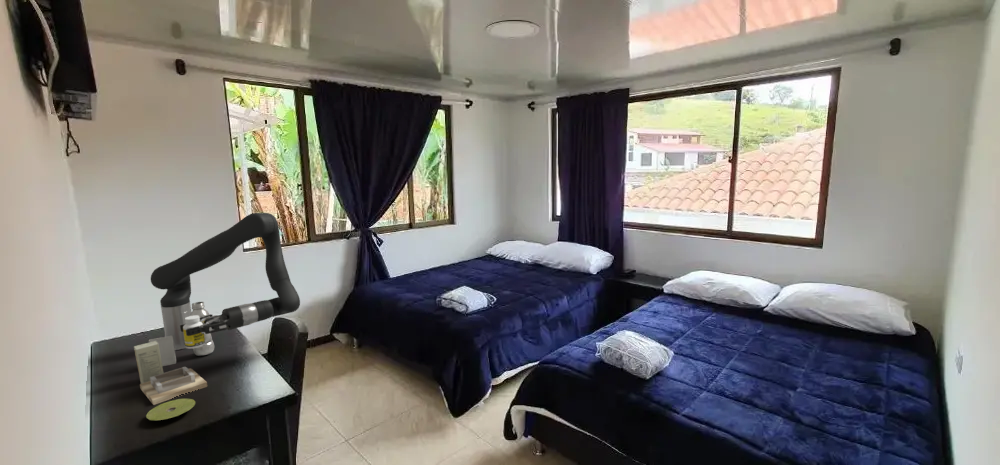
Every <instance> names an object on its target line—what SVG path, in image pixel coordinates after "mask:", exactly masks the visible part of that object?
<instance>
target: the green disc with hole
mask: <svg viewBox="0 0 1000 465" xmlns="http://www.w3.org/2000/svg"><path fill="white" fill-rule="evenodd" d="M195 405H196V401H195V400H194V399H193V398H178V399H177V398H176V399H173V400H168V401H167V402H166V401H165V402H162V403H159V404H157V405H156V406H154V407H153V408H152V409H150V410H149V411H148V412H147V414H146V415H145V417H146V419H148V420H149V421H161V420H162V421H163V420H168V419H171V418H175V417H179V416H180V415H182V414H185V413H186V412H188V411H190V410H191V409H193V407H195Z"/></svg>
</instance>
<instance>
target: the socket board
mask: <svg viewBox="0 0 1000 465" xmlns="http://www.w3.org/2000/svg"><path fill="white" fill-rule="evenodd" d="M207 387H208V382H207V381H206V380H205V379H204V378H203V377H201V376H200V374H199V373H197V372H196V371H195V370H194V369H193V368H188V367H186V366H182V367H179V368H175V369H173V370H169V371H166V372H164V373H162V374H159V375H155V376H152V377H150V381H149V382H145V383H142V384H141V383H140V384H139V388H140V390H141V391H142V393H143V394H144V395H145V396H146V397H147V399H148V400H149V402H150V403H151V404H152V405H153V406H156V405H159V404H162V403H165V402H166V401H167V402H168V401H171V399H172V398H173V399H175V398H174V397H176V396H178V397H180V396H179V395H181V394H184V395H186V394H185V393H187V394H189V393H188V392H190V393H192V391H193V392H195V390H196V391H198V389H199V390H201V389H204V388H207ZM181 396H182V395H181ZM176 398H177V397H176Z"/></svg>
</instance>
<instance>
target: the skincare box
mask: <svg viewBox="0 0 1000 465" xmlns="http://www.w3.org/2000/svg"><path fill="white" fill-rule="evenodd" d="M133 350H134V355H135V359H136V366H137V371H138V376H139V381H140V384H142V383H145V382H149V381H150V377H152V376H155V375H159V374H162V373H165V372H164V369H163V368H164V366H162V361H161V356H160V351H159V345H158V342H157V341H153V342H149V341H148V342H147V343H146V342H145V343H142V344H138V345H134V346H133Z"/></svg>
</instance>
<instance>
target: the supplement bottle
mask: <svg viewBox="0 0 1000 465" xmlns="http://www.w3.org/2000/svg"><path fill="white" fill-rule="evenodd" d="M199 321H200V317H199V316H198V315H194V316H189V317H186V318H185V323H186V324H185V325H184V326H183V332H184V340H185V347H186V348H185V349H188V350H189V349H190V350H191V349H192V350H193V348H198V347H201V346H203V345H204V344H205V337H204V333H198V334H195V335H191V336H187V335H186V329H189V328H193V327H197V326H201V325H203V323H202V322H199Z"/></svg>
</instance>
